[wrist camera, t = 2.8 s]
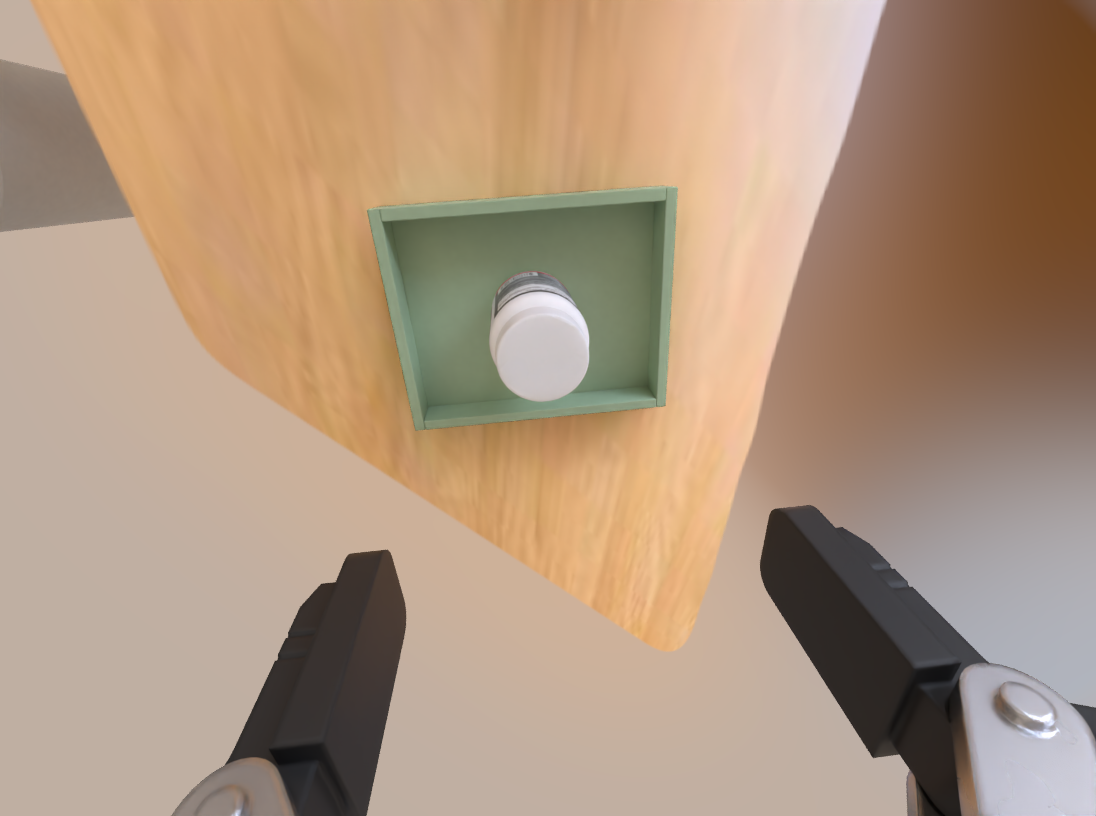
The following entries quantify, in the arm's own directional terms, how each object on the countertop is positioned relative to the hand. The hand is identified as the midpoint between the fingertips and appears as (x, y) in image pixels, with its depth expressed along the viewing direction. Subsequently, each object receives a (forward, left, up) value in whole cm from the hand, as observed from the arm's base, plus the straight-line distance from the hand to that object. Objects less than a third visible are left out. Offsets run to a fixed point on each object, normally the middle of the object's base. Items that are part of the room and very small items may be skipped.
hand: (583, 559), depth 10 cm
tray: (0, 0, -20) cm, 20 cm away
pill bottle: (0, 0, -20) cm, 20 cm away
